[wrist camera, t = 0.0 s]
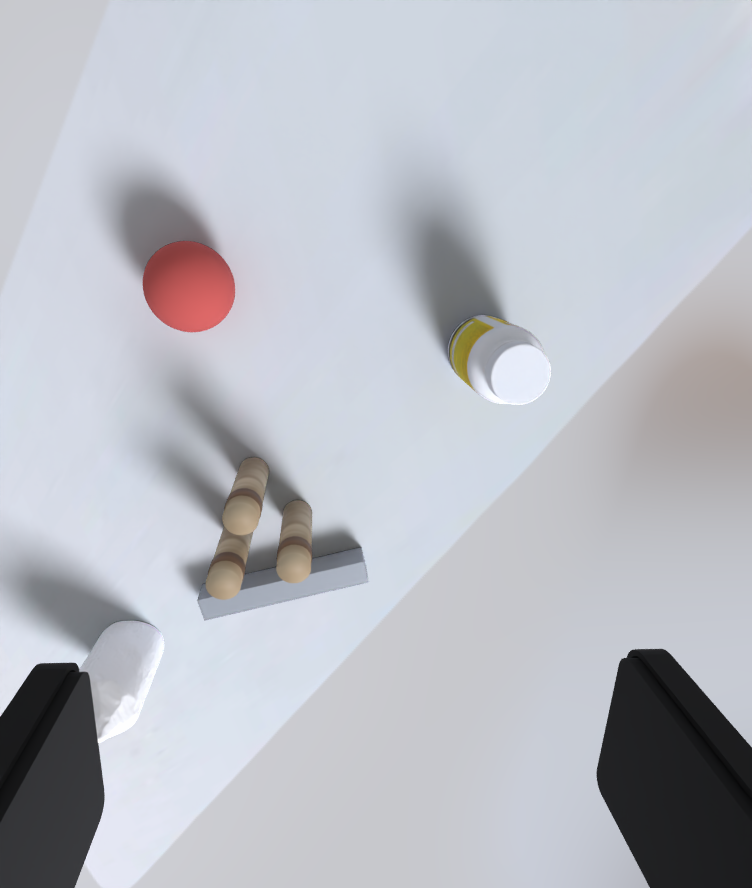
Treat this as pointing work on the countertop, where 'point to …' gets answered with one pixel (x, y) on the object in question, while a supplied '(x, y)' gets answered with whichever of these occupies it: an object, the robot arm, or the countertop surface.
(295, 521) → the pin
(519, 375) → the supplement bottle
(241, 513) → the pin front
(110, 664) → the white pointed column
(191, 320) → the ball
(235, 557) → the pin
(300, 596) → the stopper wall
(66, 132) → the countertop surface
